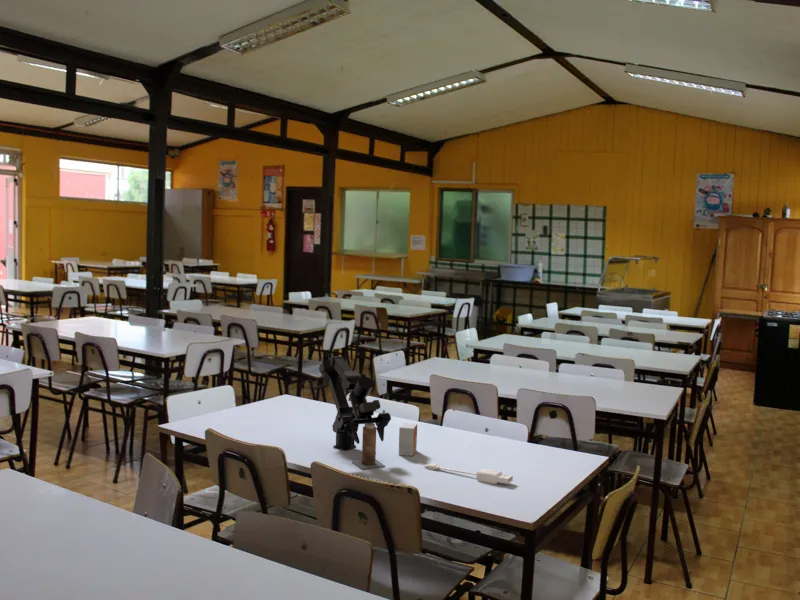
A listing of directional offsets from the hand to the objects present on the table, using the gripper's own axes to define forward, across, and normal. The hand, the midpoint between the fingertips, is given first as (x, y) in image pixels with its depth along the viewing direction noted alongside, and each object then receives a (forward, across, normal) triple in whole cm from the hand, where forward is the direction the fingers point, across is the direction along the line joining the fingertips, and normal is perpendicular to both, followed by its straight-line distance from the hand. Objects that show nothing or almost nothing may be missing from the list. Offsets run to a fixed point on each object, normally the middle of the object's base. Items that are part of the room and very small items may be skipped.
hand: (370, 442), depth 257 cm
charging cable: (+22, +27, -9) cm, 36 cm away
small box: (-1, +20, +13) cm, 24 cm away
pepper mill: (+5, 0, +7) cm, 8 cm away
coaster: (+5, 0, +7) cm, 9 cm away
